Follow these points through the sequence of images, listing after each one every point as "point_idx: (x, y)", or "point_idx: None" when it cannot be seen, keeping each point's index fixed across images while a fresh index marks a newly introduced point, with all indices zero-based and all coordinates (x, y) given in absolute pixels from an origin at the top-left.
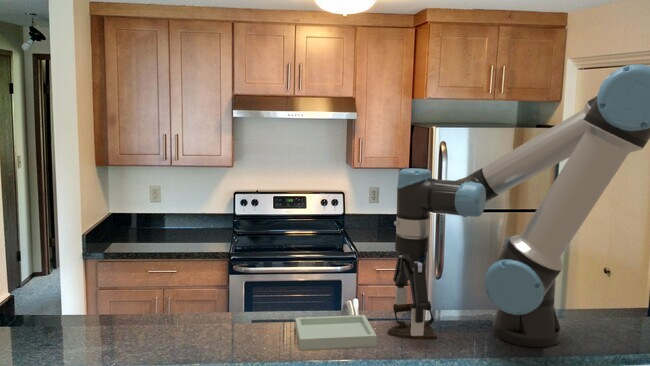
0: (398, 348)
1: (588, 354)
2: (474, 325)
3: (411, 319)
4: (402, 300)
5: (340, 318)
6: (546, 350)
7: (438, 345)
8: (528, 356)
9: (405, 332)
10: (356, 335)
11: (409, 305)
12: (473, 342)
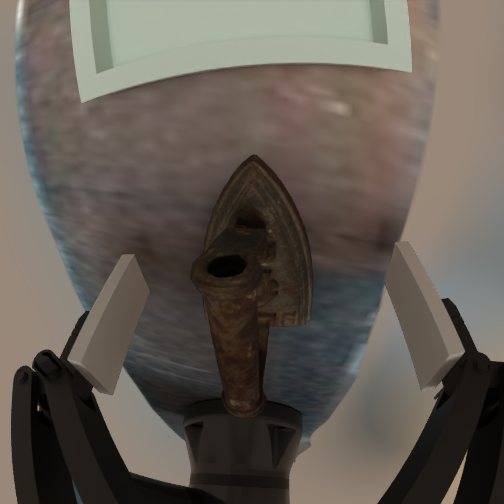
0: (105, 182)
1: (176, 430)
2: (302, 387)
3: (103, 305)
4: (410, 317)
5: None
6: (179, 416)
7: (158, 304)
8: (147, 398)
9: (214, 236)
10: (82, 7)
11: (220, 353)
12: (195, 367)
